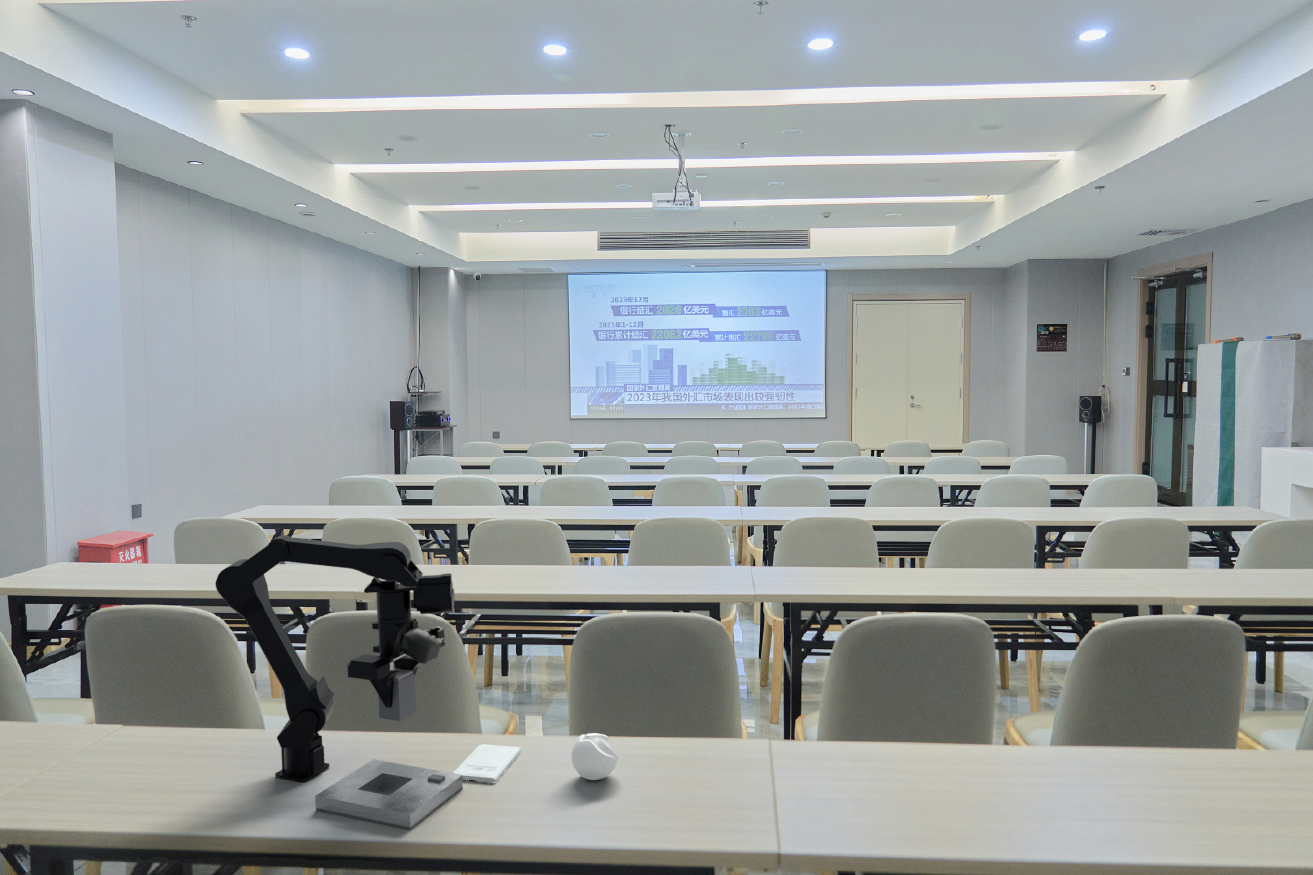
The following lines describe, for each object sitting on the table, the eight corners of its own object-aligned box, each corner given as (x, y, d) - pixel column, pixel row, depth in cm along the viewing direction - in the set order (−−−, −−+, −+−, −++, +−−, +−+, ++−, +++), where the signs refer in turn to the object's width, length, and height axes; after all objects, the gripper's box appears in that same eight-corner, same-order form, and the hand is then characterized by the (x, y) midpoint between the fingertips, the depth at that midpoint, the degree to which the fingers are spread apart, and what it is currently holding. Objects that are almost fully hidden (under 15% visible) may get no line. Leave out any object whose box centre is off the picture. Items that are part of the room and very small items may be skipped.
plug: (379, 717, 150) (377, 675, 150) (395, 708, 154) (394, 667, 154) (399, 721, 149) (398, 678, 148) (416, 711, 153) (414, 670, 152)
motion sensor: (624, 782, 144) (623, 737, 144) (582, 792, 141) (581, 746, 140) (605, 764, 151) (605, 721, 151) (565, 773, 148) (564, 729, 148)
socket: (315, 810, 136) (315, 792, 136) (374, 772, 149) (373, 756, 149) (410, 829, 130) (409, 811, 129) (462, 788, 143) (462, 771, 142)
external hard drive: (521, 755, 157) (495, 786, 145) (479, 752, 158) (450, 782, 146) (521, 746, 157) (495, 777, 144) (479, 743, 158) (449, 773, 146)
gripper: (398, 634, 139) (401, 728, 140) (463, 605, 156) (466, 689, 157) (343, 628, 143) (346, 719, 144) (412, 601, 160) (415, 683, 161)
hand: (397, 702), depth 151 cm, fingers closed on plug, 4 cm apart
